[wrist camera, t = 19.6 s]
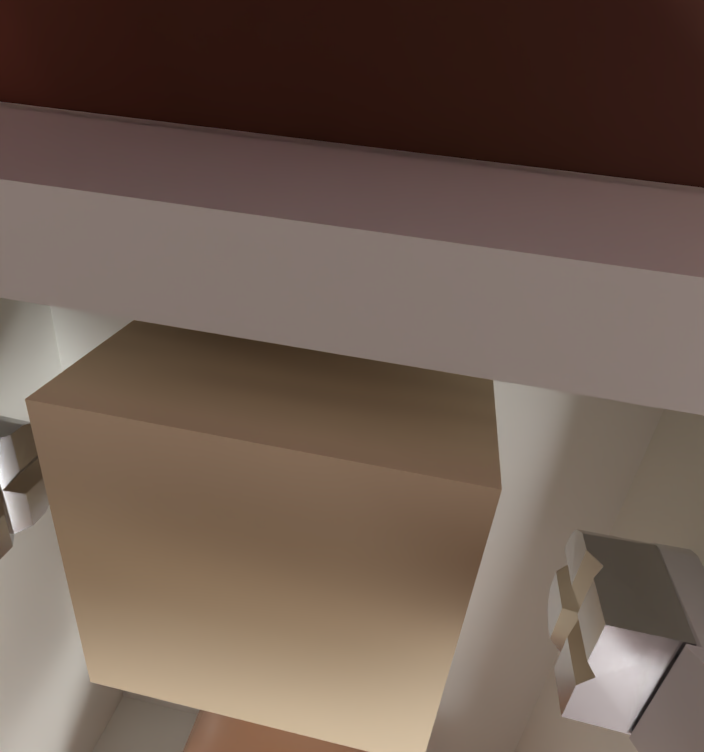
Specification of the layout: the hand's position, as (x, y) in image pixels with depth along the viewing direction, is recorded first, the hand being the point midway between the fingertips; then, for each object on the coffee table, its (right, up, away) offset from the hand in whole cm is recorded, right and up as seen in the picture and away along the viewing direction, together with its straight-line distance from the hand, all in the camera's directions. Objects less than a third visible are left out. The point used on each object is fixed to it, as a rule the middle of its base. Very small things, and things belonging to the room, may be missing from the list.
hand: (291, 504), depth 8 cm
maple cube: (+1, +1, +3) cm, 3 cm away
